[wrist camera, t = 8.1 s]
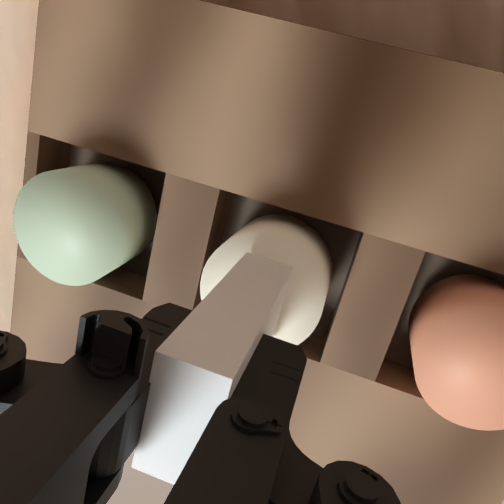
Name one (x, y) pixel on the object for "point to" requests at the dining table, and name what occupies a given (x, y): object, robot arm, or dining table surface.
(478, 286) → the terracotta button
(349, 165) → the wooden egg tray
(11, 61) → the dining table surface
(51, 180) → the pale green egg
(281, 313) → the white egg
